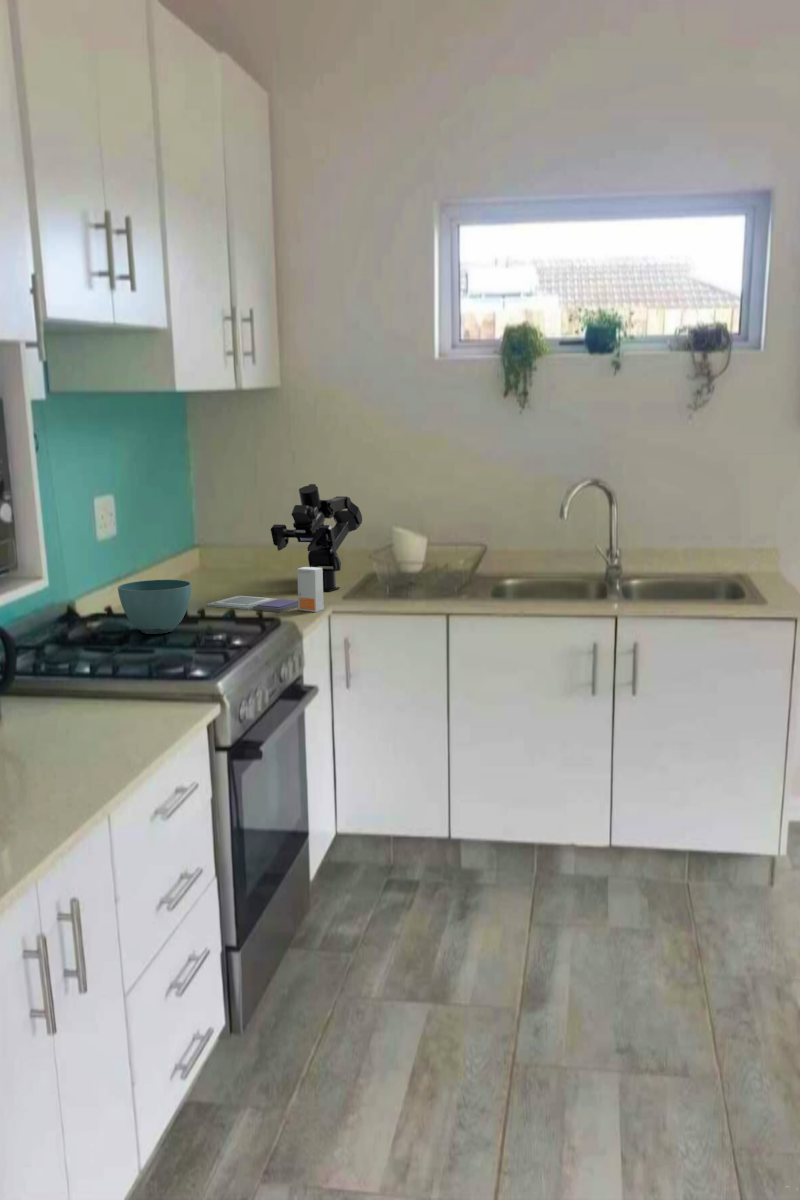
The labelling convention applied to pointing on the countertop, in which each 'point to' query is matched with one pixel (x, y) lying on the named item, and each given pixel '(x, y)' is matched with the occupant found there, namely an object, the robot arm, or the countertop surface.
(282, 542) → the robot arm
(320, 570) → the skincare box
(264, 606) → the ink pad
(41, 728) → the countertop surface
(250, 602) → the board
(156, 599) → the teal bowl
